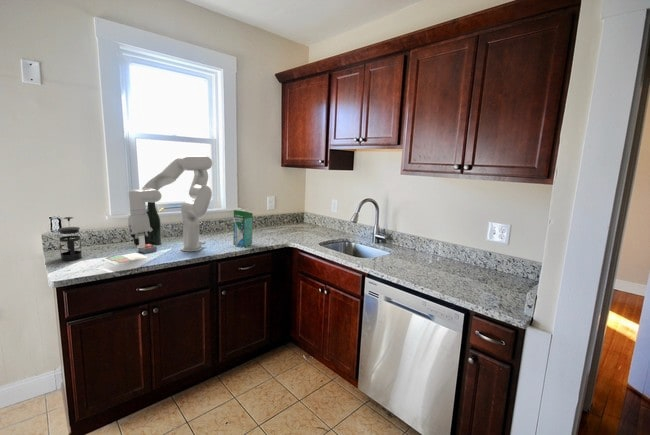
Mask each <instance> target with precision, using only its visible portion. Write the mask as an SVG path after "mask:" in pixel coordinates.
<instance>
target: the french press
mask: <svg viewBox="0 0 650 435" xmlns="http://www.w3.org/2000/svg"><path fill="white" fill-rule="evenodd" d="M71 219H74V216H73V217H72V216H68V217H63V220H67V222H68V223H67V224H68V226H67V227H66V226H65V227H60V228H58V231H59V233H60V234H61V235H63V236H61V237H59V238H58V239H59V240H58V241H59V251H60V261H62V262H73V261H74V262H75V261H79V260H82V259H83V255H82V240H81V236H80V235H73V234H77V233H80V229H81V228H80V227H78V226H70V221H71ZM64 235H66V236H64ZM77 241H79V245H75V242H77ZM61 242H65V243H66V242H67V246H62V244H61ZM78 249H80V250H78ZM62 251H64V252H62Z"/></svg>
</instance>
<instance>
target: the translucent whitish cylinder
mask: <svg viewBox="0 0 650 435" xmlns="http://www.w3.org/2000/svg"><path fill="white" fill-rule="evenodd" d="M144 235H145V233H144V232H141V233H138V236H137V238H138V239H139V245H138V246H137V245H136V247H137V249H139V248H144V247H145V236H144Z"/></svg>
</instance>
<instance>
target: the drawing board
mask: <svg viewBox="0 0 650 435" xmlns="http://www.w3.org/2000/svg"><path fill="white" fill-rule="evenodd" d="M147 258H149V256H148V255H147V256H146V255H144V254H141V253H139V252H132V253H127V254H126V253H125V254H121V255H120V254H119V255H116V256H110V257H107V258H102V259H101V260H102V261H104V262H106V263H110V264H112V265H119V264H124V263H129V262H134V261H138V260H142V259H147Z"/></svg>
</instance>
